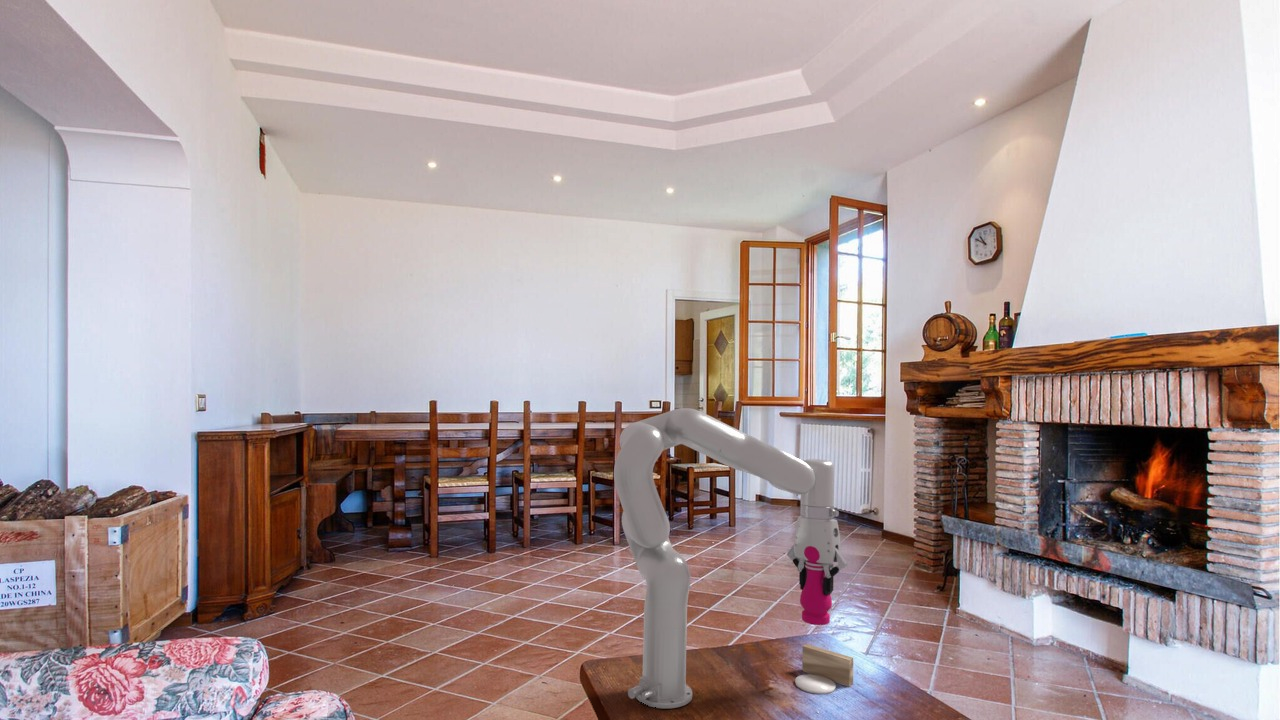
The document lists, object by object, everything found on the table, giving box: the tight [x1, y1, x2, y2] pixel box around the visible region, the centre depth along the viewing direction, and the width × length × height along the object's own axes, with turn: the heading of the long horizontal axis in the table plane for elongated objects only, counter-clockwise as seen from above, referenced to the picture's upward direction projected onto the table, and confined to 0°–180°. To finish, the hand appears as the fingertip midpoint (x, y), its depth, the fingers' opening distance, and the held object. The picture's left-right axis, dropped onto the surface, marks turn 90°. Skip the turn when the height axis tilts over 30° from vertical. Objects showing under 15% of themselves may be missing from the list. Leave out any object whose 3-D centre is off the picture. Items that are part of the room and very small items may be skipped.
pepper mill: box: [799, 546, 833, 626], centre depth 152 cm, size 7×7×20 cm
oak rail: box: [801, 643, 854, 688], centre depth 155 cm, size 2×12×6 cm, turn 47°
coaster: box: [794, 673, 836, 695], centre depth 151 cm, size 9×9×1 cm
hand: (816, 590), depth 152 cm, fingers closed on pepper mill, 5 cm apart
